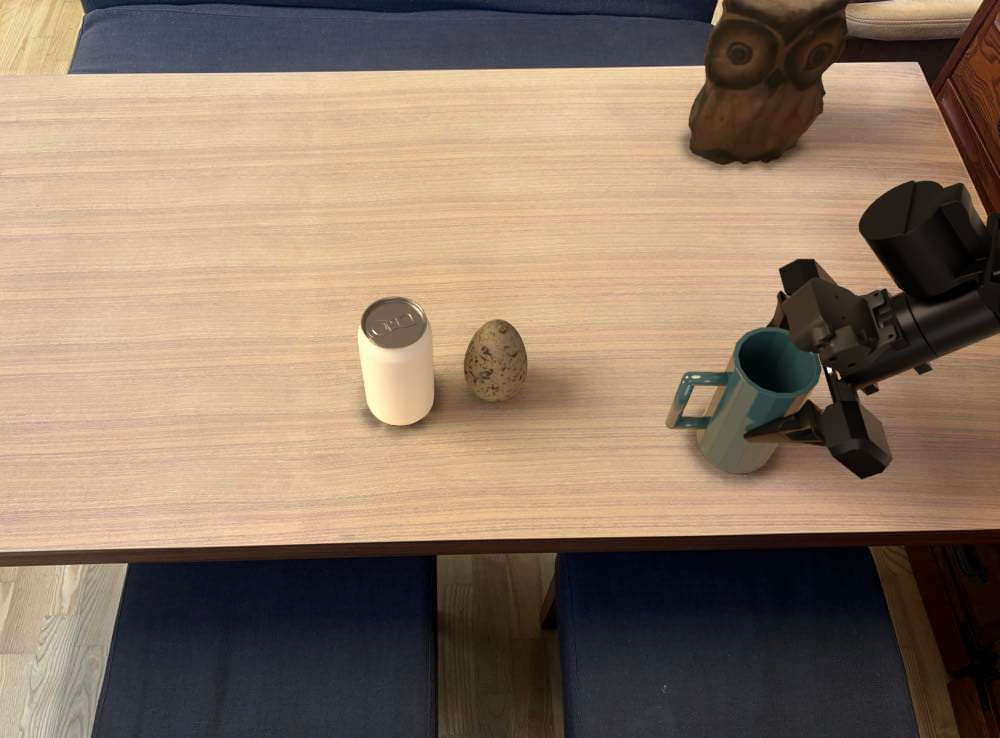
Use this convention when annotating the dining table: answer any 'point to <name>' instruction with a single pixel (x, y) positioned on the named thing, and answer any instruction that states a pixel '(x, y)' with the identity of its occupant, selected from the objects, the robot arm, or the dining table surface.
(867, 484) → the dining table surface
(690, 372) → the teal mug
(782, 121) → the owl
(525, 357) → the decorative egg
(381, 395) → the can
